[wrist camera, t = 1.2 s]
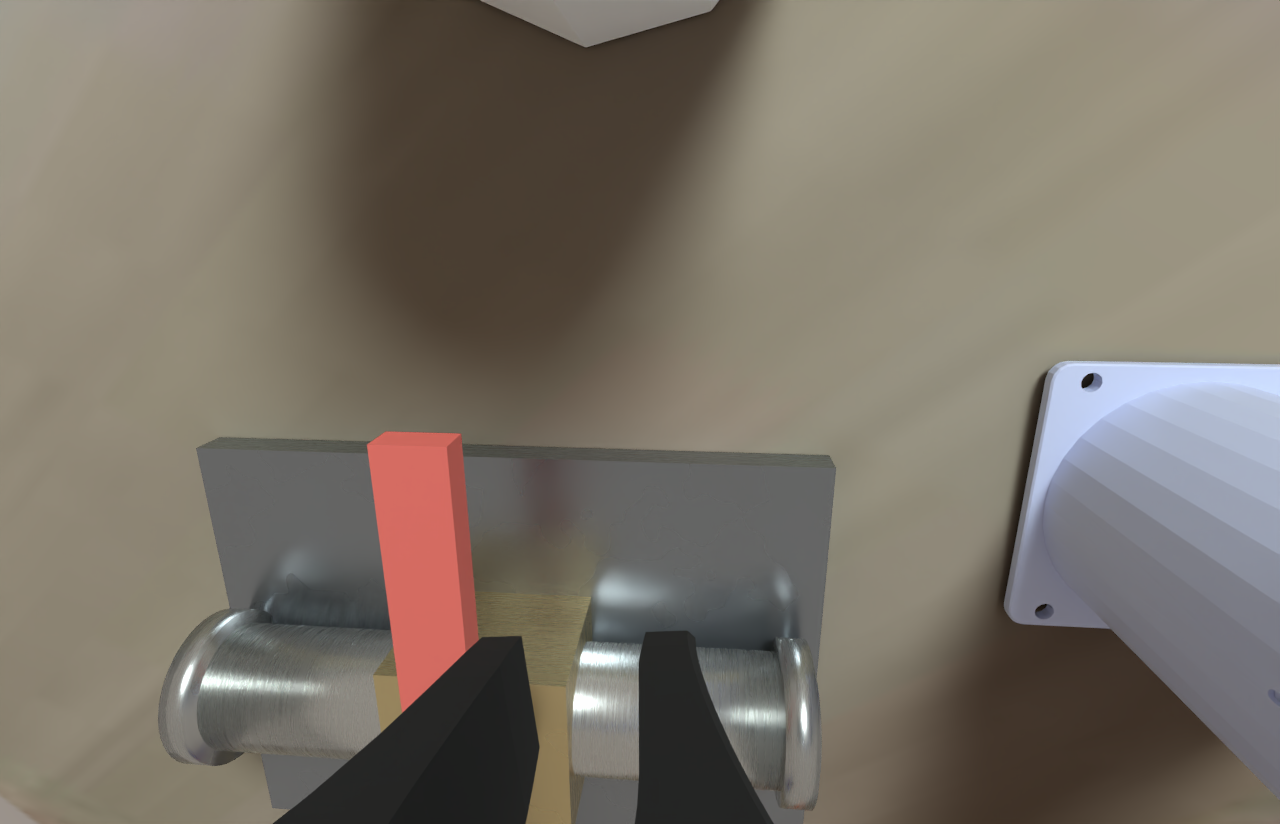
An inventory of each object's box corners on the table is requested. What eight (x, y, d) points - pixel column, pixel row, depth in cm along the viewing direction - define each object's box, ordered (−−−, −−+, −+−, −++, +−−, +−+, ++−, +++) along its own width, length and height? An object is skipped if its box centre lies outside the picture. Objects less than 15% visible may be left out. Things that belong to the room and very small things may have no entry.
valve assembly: (829, 455, 19) (883, 558, 13) (796, 824, 23) (827, 1023, 18) (219, 437, 21) (36, 522, 15) (288, 785, 25) (165, 956, 19)
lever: (514, 839, 16) (504, 874, 16) (415, 831, 17) (400, 865, 16) (484, 434, 13) (470, 449, 12) (362, 430, 14) (339, 445, 13)
